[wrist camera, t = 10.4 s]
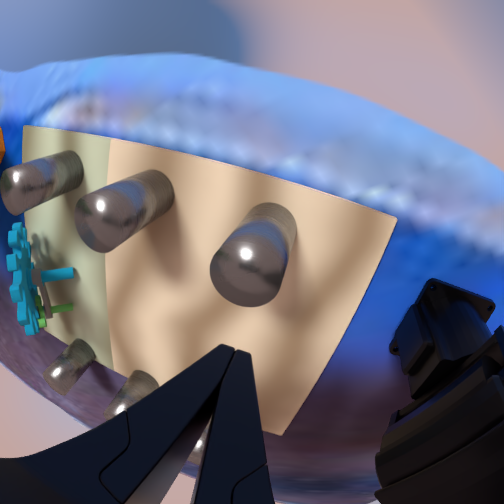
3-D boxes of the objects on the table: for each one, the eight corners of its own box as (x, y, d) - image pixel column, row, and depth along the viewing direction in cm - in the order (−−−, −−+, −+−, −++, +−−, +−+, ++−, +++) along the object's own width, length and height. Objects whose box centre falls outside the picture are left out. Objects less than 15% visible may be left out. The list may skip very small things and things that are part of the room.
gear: (10, 202, 21) (-7, 279, 15) (66, 195, 25) (69, 268, 18) (30, 288, 28) (33, 364, 22) (76, 281, 31) (89, 356, 25)
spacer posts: (303, 211, 18) (290, 256, 13) (230, 423, 29) (212, 469, 23) (58, 147, 20) (-1, 165, 15) (76, 352, 31) (47, 385, 25)
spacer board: (396, 217, 17) (397, 219, 17) (282, 432, 28) (281, 435, 28) (26, 125, 20) (23, 125, 20) (46, 328, 31) (44, 329, 31)
